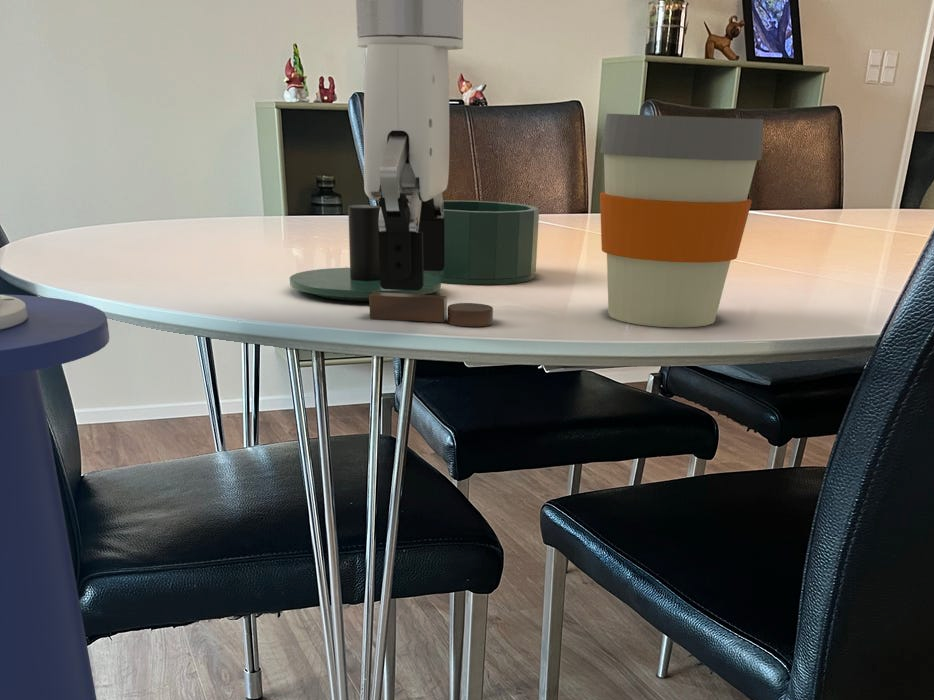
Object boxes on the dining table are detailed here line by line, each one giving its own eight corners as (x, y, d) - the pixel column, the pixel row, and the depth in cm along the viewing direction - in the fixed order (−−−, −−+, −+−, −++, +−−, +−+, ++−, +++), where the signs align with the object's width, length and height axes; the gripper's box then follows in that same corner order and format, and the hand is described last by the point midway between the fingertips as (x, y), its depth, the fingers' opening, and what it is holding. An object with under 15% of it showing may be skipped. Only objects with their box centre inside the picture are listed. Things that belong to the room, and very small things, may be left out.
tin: (519, 288, 95) (523, 214, 92) (394, 279, 98) (394, 207, 95) (545, 271, 106) (549, 204, 103) (432, 263, 108) (432, 198, 105)
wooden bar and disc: (366, 320, 78) (366, 297, 77) (376, 312, 81) (376, 289, 81) (489, 327, 77) (490, 304, 76) (495, 319, 80) (495, 296, 80)
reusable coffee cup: (598, 329, 78) (617, 114, 71) (577, 302, 89) (592, 113, 82) (755, 333, 79) (789, 120, 72) (715, 305, 90) (741, 118, 83)
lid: (414, 310, 83) (414, 217, 80) (264, 298, 86) (258, 207, 82) (458, 286, 95) (459, 204, 91) (324, 276, 97) (321, 196, 94)
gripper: (384, 31, 78) (390, 262, 86) (325, 14, 63) (340, 296, 71) (478, 32, 77) (476, 265, 85) (442, 15, 62) (443, 299, 70)
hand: (414, 279), depth 78 cm, fingers open, 9 cm apart
